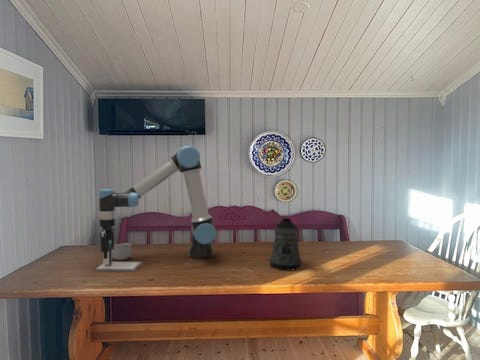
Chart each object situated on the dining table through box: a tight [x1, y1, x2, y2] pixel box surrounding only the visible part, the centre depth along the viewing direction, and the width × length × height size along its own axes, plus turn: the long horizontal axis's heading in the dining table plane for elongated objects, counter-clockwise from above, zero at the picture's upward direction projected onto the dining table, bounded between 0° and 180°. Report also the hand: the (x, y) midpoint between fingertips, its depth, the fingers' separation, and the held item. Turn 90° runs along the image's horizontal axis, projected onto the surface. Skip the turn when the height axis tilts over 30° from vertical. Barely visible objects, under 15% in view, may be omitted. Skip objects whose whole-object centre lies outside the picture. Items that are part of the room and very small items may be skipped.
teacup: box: [112, 242, 132, 261], centre depth 200 cm, size 14×11×8 cm
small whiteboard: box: [94, 261, 143, 272], centre depth 183 cm, size 20×14×1 cm
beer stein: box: [269, 218, 302, 271], centre depth 186 cm, size 16×19×25 cm
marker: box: [105, 240, 113, 266], centre depth 183 cm, size 4×4×13 cm
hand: (107, 263), depth 183 cm, fingers closed on marker, 4 cm apart
